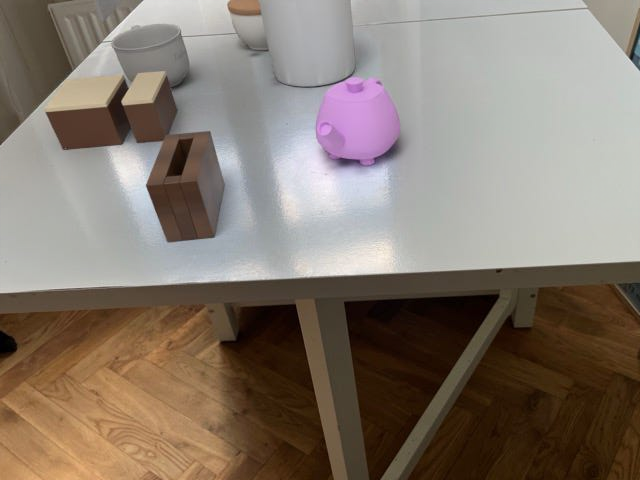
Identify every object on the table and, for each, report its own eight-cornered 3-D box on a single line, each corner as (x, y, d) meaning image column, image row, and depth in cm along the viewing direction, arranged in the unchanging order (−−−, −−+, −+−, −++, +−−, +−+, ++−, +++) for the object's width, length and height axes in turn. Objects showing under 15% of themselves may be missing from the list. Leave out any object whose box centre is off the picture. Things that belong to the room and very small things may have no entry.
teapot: (416, 135, 75) (416, 65, 69) (365, 190, 65) (359, 114, 59) (349, 123, 78) (343, 55, 72) (291, 173, 69) (278, 100, 62)
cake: (62, 149, 76) (43, 108, 72) (83, 118, 84) (67, 79, 80) (121, 144, 77) (105, 102, 73) (137, 113, 84) (123, 74, 80)
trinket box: (242, 58, 100) (230, 2, 94) (231, 41, 108) (220, -13, 101) (299, 48, 103) (291, -8, 96) (285, 32, 110) (277, -21, 104)
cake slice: (136, 143, 77) (121, 101, 73) (151, 112, 84) (137, 73, 80) (165, 140, 77) (151, 98, 73) (177, 110, 84) (165, 70, 80)
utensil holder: (254, 85, 90) (229, -36, 79) (292, 53, 101) (275, -58, 89) (338, 92, 87) (326, -34, 75) (368, 58, 97) (361, -57, 85)
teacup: (198, 89, 90) (184, 37, 85) (128, 102, 88) (110, 49, 82) (188, 61, 100) (174, 14, 95) (125, 72, 97) (108, 24, 92)
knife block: (214, 237, 59) (196, 180, 55) (167, 242, 59) (145, 185, 54) (224, 184, 67) (210, 130, 63) (183, 188, 67) (165, 134, 62)
